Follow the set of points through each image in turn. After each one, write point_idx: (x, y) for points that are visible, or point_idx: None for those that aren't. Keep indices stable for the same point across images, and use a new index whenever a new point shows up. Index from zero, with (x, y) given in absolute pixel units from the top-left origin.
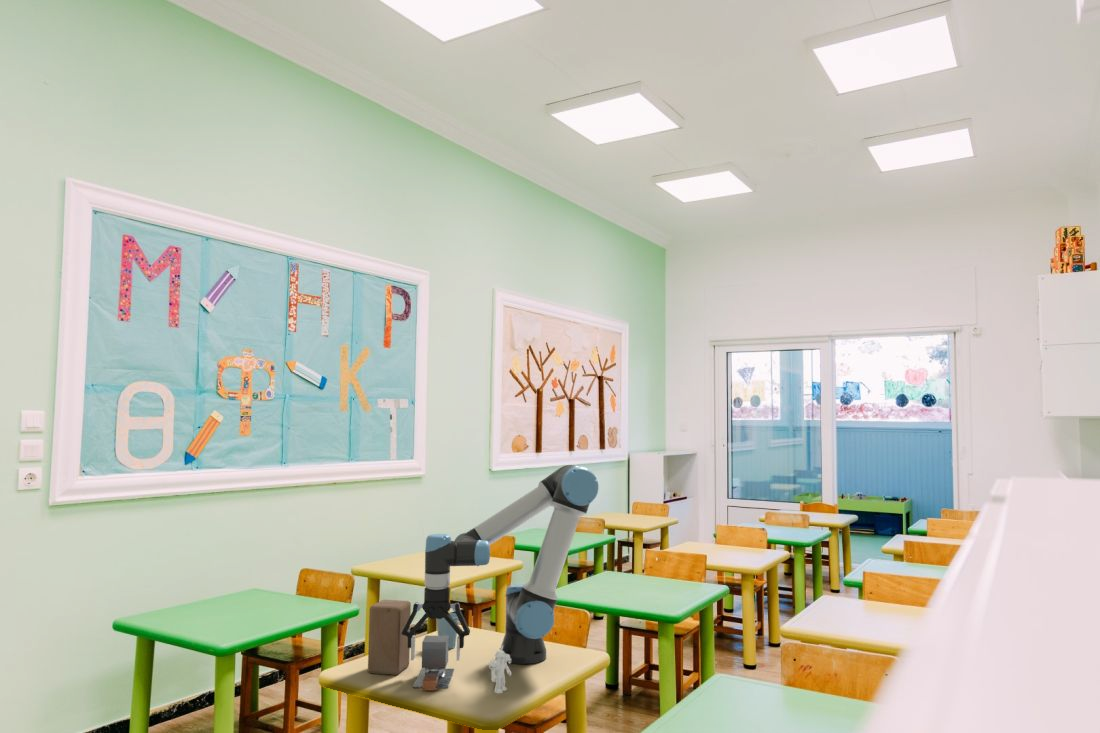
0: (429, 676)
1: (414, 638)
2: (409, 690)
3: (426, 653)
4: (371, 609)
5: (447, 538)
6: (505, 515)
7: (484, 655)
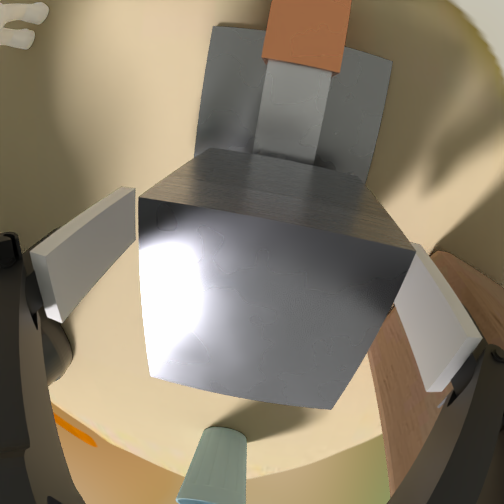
0: (314, 40)
1: (442, 354)
2: (404, 39)
3: (347, 197)
4: None
5: None
6: None
7: (112, 368)
